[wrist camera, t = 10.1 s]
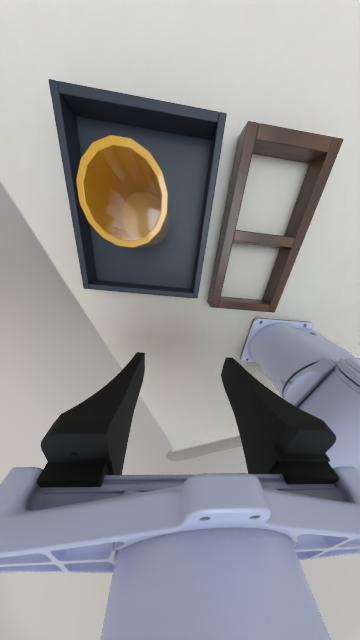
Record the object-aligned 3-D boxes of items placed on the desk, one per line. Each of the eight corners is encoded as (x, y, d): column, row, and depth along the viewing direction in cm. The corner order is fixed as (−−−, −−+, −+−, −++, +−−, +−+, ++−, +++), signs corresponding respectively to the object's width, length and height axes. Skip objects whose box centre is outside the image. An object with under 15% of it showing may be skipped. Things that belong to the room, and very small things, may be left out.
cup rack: (323, 151, 15) (344, 138, 13) (266, 307, 22) (274, 312, 20) (238, 136, 14) (248, 120, 13) (207, 302, 21) (210, 307, 20)
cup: (171, 192, 16) (170, 144, 8) (168, 249, 18) (164, 251, 11) (118, 184, 15) (67, 127, 8) (121, 244, 17) (84, 242, 10)
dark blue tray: (217, 135, 14) (227, 112, 12) (194, 292, 21) (197, 298, 18) (71, 109, 13) (48, 78, 11) (94, 283, 20) (83, 288, 17)
